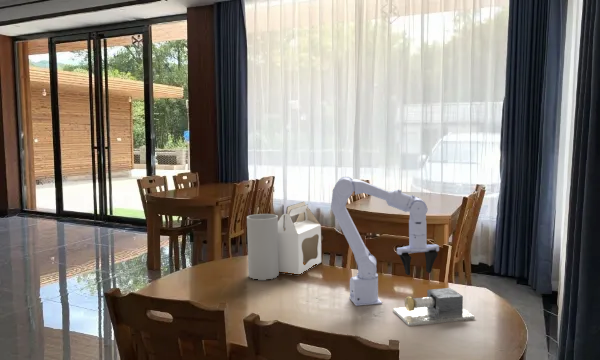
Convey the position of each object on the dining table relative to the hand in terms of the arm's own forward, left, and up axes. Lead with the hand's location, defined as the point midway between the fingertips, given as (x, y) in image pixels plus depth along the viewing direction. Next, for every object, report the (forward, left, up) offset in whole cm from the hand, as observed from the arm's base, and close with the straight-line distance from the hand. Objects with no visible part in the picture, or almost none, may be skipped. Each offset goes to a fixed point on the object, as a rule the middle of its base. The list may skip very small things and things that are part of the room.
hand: (418, 273), depth 160 cm
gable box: (-32, +53, -11) cm, 63 cm away
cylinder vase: (-48, +43, -11) cm, 65 cm away
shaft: (-1, -11, -8) cm, 14 cm away
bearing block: (0, -11, -11) cm, 15 cm away
